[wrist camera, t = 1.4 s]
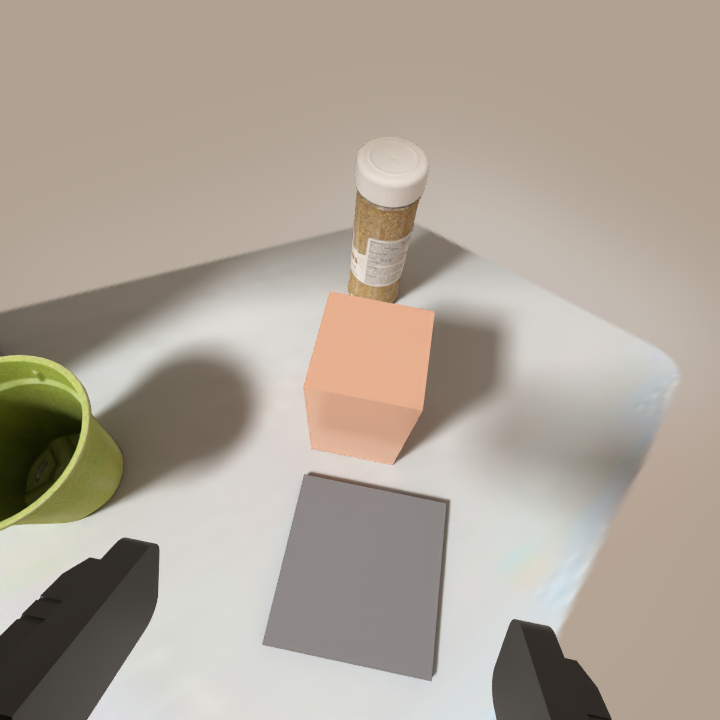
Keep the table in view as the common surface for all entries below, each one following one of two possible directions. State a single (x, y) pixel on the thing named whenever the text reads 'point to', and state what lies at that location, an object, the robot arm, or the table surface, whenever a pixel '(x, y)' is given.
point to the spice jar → (384, 214)
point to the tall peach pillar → (367, 377)
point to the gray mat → (360, 578)
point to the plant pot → (51, 446)
